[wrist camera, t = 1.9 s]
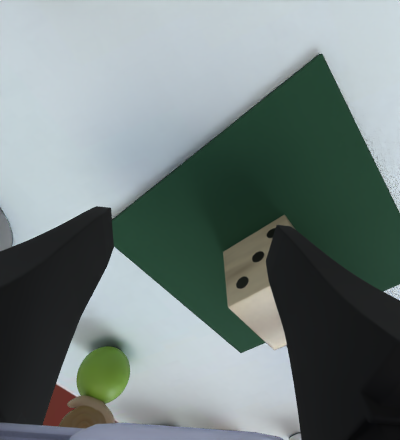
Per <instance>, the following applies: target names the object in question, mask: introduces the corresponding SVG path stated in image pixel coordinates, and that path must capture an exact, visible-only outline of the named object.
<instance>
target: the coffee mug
mask: <svg viewBox="0 0 400 440" xmlns="http://www.w3.org/2000/svg"><path fill="white" fill-rule="evenodd" d="M12 240H13V238H12V231H11V228H10V225H9V222H8V221H7V219H6V217H5V215H4V213H3V212H2V210H1V209H0V251H2V250H5V249H8V248H10V247H12Z"/></svg>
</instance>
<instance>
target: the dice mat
mask: <svg viewBox="0 0 400 440" xmlns="http://www.w3.org/2000/svg"><path fill="white" fill-rule="evenodd" d="M283 215H285V216H286V217H287V218H288V220H289V221H290V223H291V224H292V225H293V227H294V228H295V229H296V230H297V231H298V232H299V233H300V234H302V235H303V236H304V237H305V238H307V239H308V240H309V241H310V242H311V243H313V244H314V245H315V246H316V247H318V248H319V249H320V250H321V251H323V252H324V253H325V254H326V255H328V256H329V257H330V258H332V259H333V260H334V261H336V262H337V263H338V264H340V265H341V266H343V267H344V268H345V269H347V270H348V271H350V272H351V273H353V274H354V275H356V276H357V277H359V278H361V279H362V280H364V281H365V282H367V283H369V284H370V285H372V286H374V287H375V288H377V289H379V290H381V291H385V290H387V289H390V288H392V287H394V286H397V285H399V284H400V213H399V211H398V209H397V207H396V205H395V203H394V201H393V199H392V197H391V194H390V192H389V190H388V188H387V186H386V184H385V182H384V180H383V178H382V176H381V174H380V172H379V170H378V168H377V166H376V164H375V162H374V160H373V157H372V155H371V153H370V151H369V149H368V147H367V145H366V143H365V141H364V139H363V137H362V135H361V133H360V131H359V129H358V127H357V125H356V123H355V121H354V118H353V116H352V114H351V112H350V110H349V108H348V106H347V104H346V102H345V100H344V98H343V96H342V94H341V92H340V90H339V88H338V86H337V84H336V81H335V79H334V77H333V75H332V73H331V71H330V69H329V67H328V65H327V63H326V61H325V59H324V57H323V55H322V54H319V55H318V56H316V57H315V58H314V59H313V60H311V61H310V62H309V63H308V64H306V65H305V66H304V67H303V68H301V69H300V70H299V71H298V72H296V73H295V74H294V75H293V76H291V77H290V78H289V79H288V80H286V81H285V82H284V83H283V84H281V85H280V86H279V87H278V88H276V89H275V90H274V91H273V92H271V93H270V94H269V95H268V96H266V97H265V98H264V99H263V100H261V101H260V102H259V103H258V104H256V105H255V106H254V107H253V108H251V109H250V110H249V111H248V112H246V113H245V114H244V115H243V116H241V117H240V118H239V119H238V120H236V121H235V122H234V123H233V124H231V125H230V126H229V127H228V128H226V129H225V130H224V131H223V132H221V133H220V134H219V135H218V136H216V137H215V138H214V139H213V140H211V141H210V142H209V143H208V144H206V145H205V146H204V147H203V148H201V149H200V150H199V151H198V152H196V153H195V154H194V155H193V156H191V157H190V158H189V159H188V160H186V161H185V162H184V163H183V164H181V165H180V166H179V167H178V168H176V169H175V170H174V171H172V172H171V173H170V174H169V175H167V176H166V177H165V178H164V179H162V180H161V181H160V182H159V183H157V184H156V185H155V186H154V187H152V188H151V189H150V190H149V191H147V192H146V193H145V194H144V195H142V196H141V197H140V198H139V199H137V200H136V201H135V202H134V203H132V204H131V205H130V206H129V207H127V208H126V209H125V210H124V211H122V212H121V213H120V214H119V215H117V216H116V217H115V218H114V219H112V229H113V241H114V247H116V248H117V249H118V250H119V251H120V252H122V253H123V254H124V255H125V256H126V257H128V258H129V259H130V260H131V261H132V262H133V263H135V264H136V265H137V266H138V267H139V268H141V269H142V270H143V271H144V272H145V273H146V274H148V275H149V276H150V277H151V278H152V279H154V280H155V281H156V282H157V283H158V284H160V285H161V286H162V287H163V288H164V289H165V290H167V291H168V292H169V293H170V294H171V295H173V296H174V297H175V298H176V299H177V300H179V301H180V302H181V303H182V304H183V305H184V306H186V307H187V308H188V309H189V310H190V311H192V312H193V313H194V314H195V315H196V316H197V317H199V318H200V319H201V320H202V321H203V322H205V323H206V324H207V325H208V326H209V327H211V328H212V329H213V330H214V331H215V332H216V333H218V334H219V335H220V336H221V337H222V338H224V339H225V340H226V341H227V342H228V343H229V344H231V345H232V346H233V347H234V348H235V349H237V350H238V351H239V352H240V353H242V352H245V351H247V350H249V349H252V348H254V347H256V346H258V345H261V344H263V343H265V341H264V340H263V339H261V338H260V337H259V336H258V335H257V334H256V333H255V332H254V331H253V330H252V329H251V328H250V327H249V326H248V325H246V324H245V323H244V322H243V321H242V320H241V319H240V318H239V317H238V316H237V315H236V314H235V313H234V312H232V311H231V310H230V309H229V308H228V304H227V292H226V281H225V269H224V258H223V252H224V251H225V250H227V249H229V248H230V247H232V246H234V245H235V244H237V243H238V242H240V241H242V240H243V239H245V238H247V237H248V236H250V235H252V234H253V233H255V232H257V231H258V230H260V229H262V228H263V227H265V226H266V225H268V224H270V223H271V222H273V221H275V220H276V219H278V218H280V217H281V216H283Z"/></svg>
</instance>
